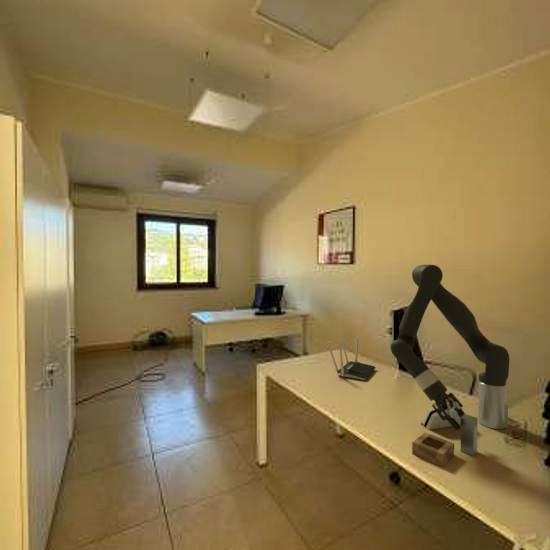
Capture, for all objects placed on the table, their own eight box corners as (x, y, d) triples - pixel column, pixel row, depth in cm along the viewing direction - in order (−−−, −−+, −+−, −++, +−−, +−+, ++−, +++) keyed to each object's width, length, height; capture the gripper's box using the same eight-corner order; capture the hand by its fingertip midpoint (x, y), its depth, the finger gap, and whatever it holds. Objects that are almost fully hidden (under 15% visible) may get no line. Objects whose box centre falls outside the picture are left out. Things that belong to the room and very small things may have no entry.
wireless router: (362, 384, 176) (362, 348, 175) (323, 377, 188) (323, 343, 188) (378, 367, 204) (378, 337, 204) (343, 362, 217) (343, 333, 216)
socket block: (424, 442, 117) (424, 432, 117) (454, 454, 110) (454, 443, 110) (412, 453, 111) (412, 442, 111) (442, 467, 103) (442, 454, 103)
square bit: (464, 446, 115) (464, 413, 114) (477, 451, 112) (477, 417, 111) (460, 451, 112) (460, 417, 112) (473, 456, 109) (473, 421, 109)
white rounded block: (453, 418, 136) (459, 400, 132) (461, 427, 131) (468, 408, 128) (419, 423, 132) (425, 404, 128) (426, 432, 127) (433, 413, 124)
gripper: (429, 384, 114) (464, 427, 106) (445, 375, 124) (478, 414, 116) (414, 394, 119) (447, 436, 110) (431, 384, 128) (462, 423, 120)
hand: (463, 425), depth 113 cm, fingers open, 8 cm apart
